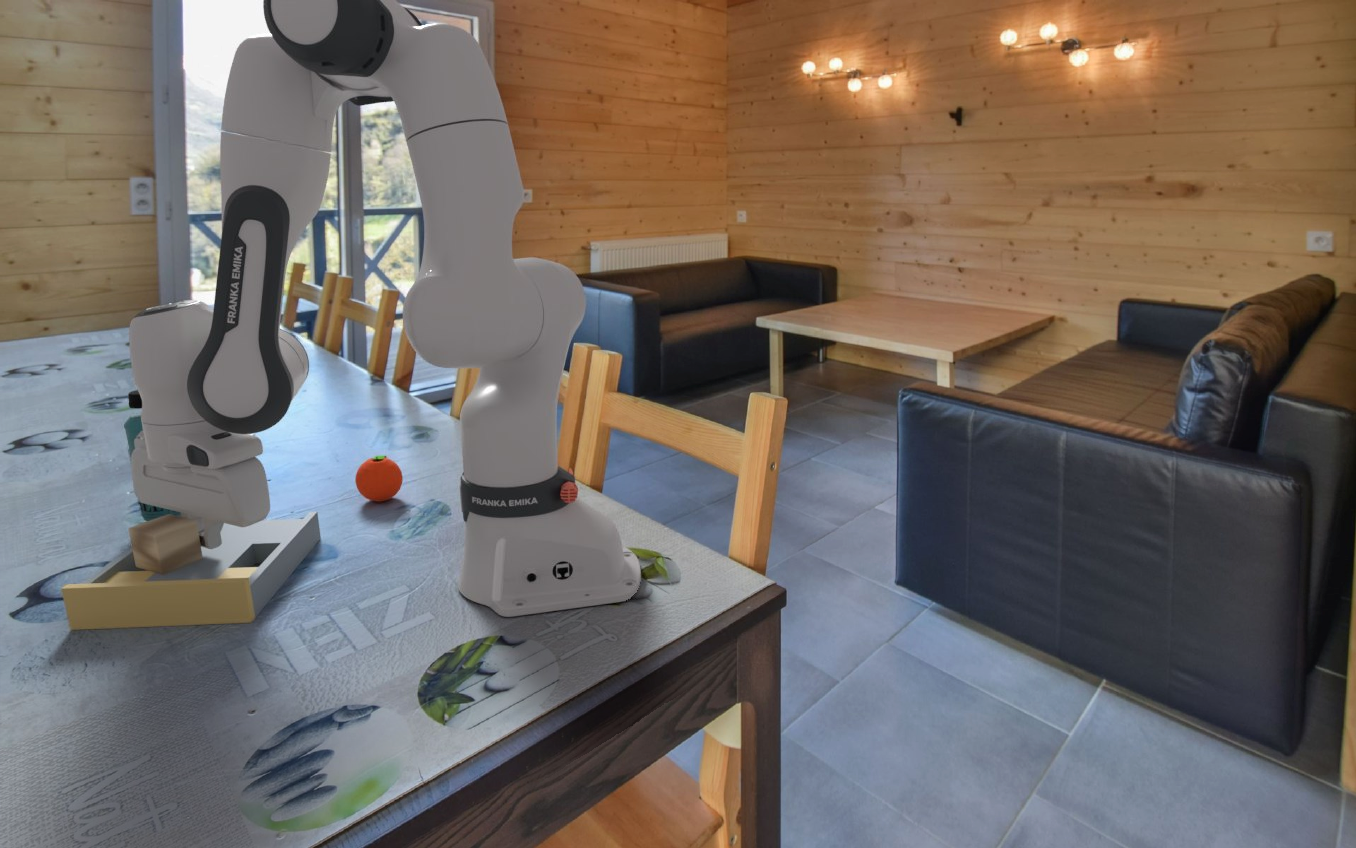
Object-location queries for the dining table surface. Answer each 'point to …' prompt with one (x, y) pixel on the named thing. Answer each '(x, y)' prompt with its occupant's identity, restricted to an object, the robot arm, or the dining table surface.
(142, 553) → the cube
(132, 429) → the beverage bottle
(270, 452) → the dining table surface
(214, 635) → the dining table surface
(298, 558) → the tray
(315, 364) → the dining table surface
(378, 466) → the clementine
